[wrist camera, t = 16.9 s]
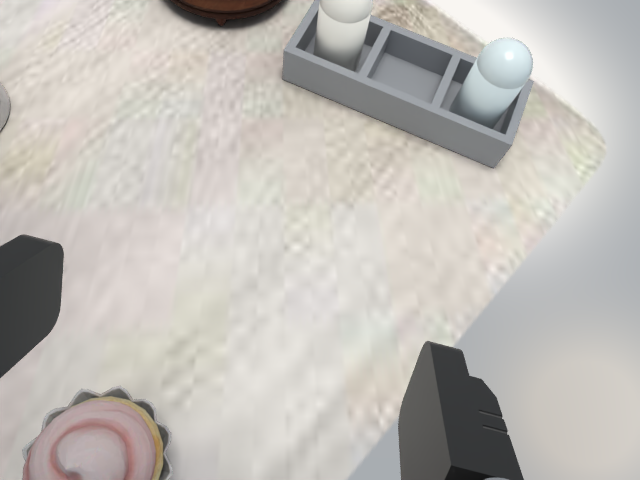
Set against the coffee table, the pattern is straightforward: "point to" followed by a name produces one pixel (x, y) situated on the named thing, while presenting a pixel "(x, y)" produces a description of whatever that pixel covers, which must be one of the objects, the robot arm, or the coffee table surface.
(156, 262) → the coffee table surface
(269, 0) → the wooden spool stand
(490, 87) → the pale blue dome-topped cylinder
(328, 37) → the white cylinder
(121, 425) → the cupcake
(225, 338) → the coffee table surface
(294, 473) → the coffee table surface
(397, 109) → the tray
